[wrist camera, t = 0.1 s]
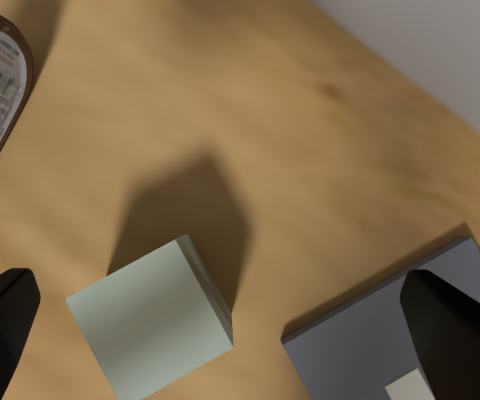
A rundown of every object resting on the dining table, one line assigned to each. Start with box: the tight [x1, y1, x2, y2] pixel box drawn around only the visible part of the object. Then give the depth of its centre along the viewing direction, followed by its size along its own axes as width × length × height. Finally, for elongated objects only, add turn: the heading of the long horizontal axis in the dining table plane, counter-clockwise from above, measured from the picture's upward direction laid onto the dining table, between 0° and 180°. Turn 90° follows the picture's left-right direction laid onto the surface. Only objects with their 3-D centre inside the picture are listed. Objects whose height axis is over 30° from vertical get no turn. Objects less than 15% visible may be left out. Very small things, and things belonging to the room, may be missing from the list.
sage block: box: [65, 233, 233, 400], centre depth 20 cm, size 6×6×6 cm
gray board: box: [280, 236, 480, 400], centre depth 23 cm, size 14×14×1 cm
